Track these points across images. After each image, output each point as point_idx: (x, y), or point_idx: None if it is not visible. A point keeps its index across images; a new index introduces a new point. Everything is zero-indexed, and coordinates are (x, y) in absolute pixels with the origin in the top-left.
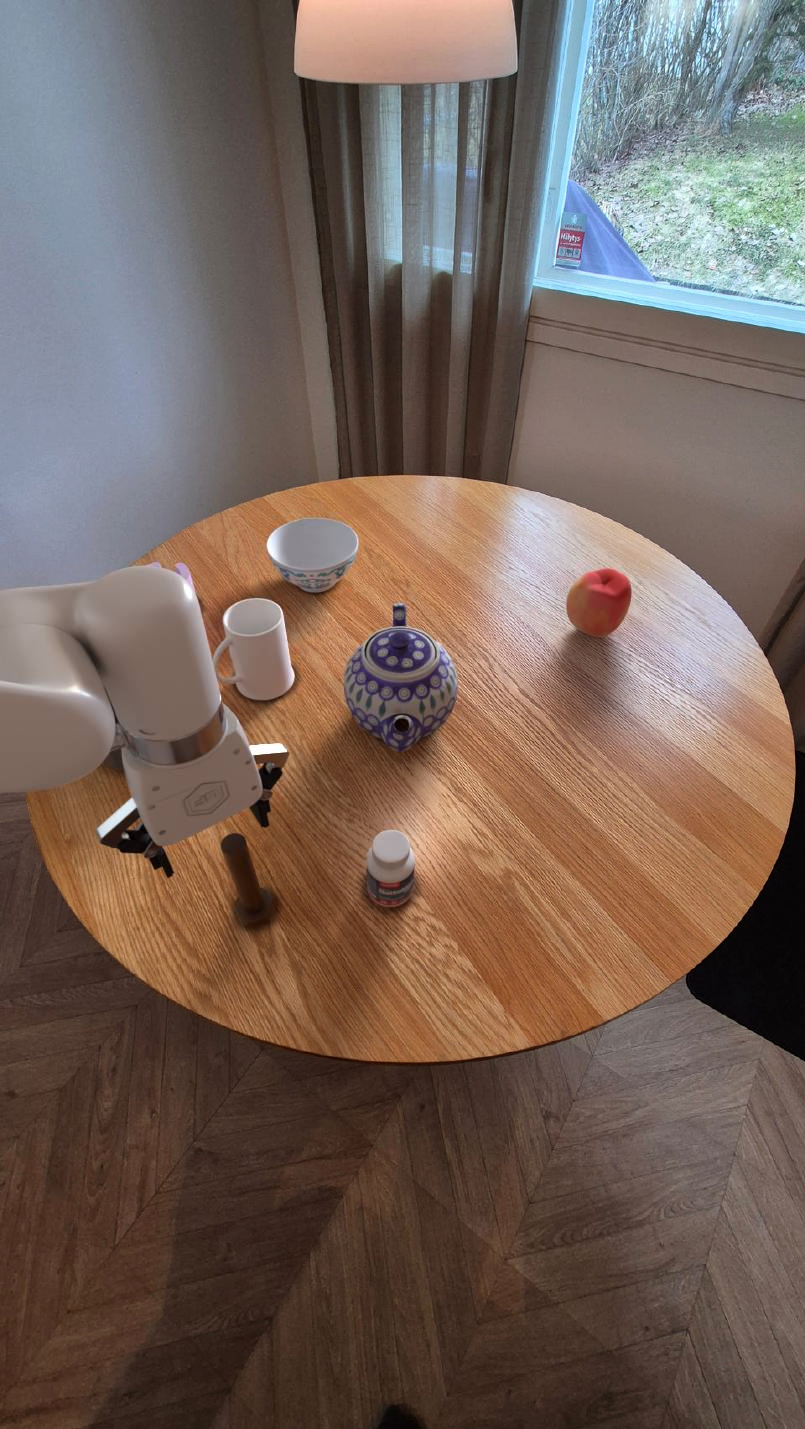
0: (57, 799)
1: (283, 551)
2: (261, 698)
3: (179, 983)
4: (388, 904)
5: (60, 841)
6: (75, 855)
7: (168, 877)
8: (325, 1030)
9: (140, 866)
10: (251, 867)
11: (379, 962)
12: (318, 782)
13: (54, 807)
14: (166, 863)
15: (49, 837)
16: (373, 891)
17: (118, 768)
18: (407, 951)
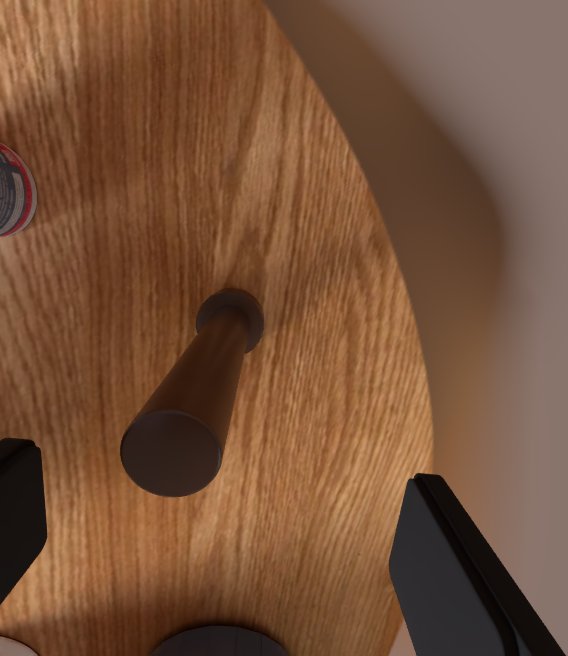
0: (370, 643)
1: None
2: (17, 648)
3: (394, 291)
4: (6, 149)
5: None
6: None
7: (437, 476)
8: (253, 35)
9: (336, 493)
10: (181, 358)
11: (95, 70)
12: None
13: (380, 634)
14: (477, 557)
15: None
16: (5, 177)
17: (280, 651)
18: (33, 46)
